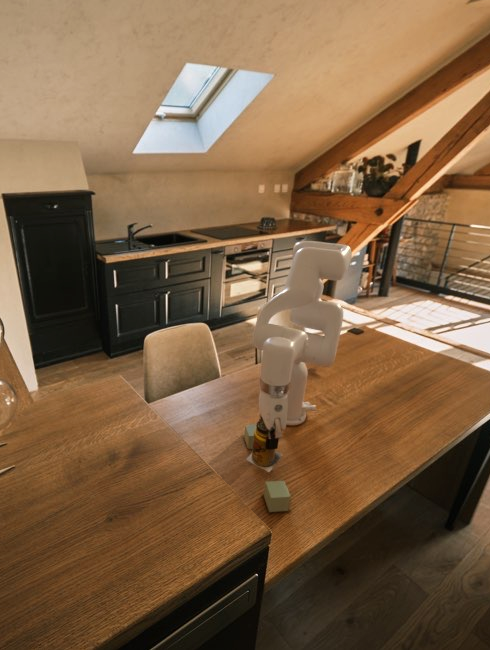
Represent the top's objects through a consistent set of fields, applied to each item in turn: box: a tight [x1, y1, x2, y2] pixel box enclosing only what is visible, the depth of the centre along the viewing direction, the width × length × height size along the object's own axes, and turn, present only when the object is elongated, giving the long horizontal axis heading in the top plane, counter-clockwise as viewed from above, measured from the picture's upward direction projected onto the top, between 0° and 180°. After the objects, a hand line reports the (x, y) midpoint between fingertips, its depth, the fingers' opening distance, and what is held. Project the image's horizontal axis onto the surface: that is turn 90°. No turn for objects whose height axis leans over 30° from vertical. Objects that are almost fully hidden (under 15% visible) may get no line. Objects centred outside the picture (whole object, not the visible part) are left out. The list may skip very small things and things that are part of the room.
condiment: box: [245, 420, 284, 473], centre depth 105 cm, size 7×8×12 cm
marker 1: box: [243, 424, 257, 450], centre depth 118 cm, size 5×5×5 cm
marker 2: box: [263, 480, 292, 513], centre depth 98 cm, size 5×5×5 cm
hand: (267, 439), depth 104 cm, fingers closed on condiment, 6 cm apart
